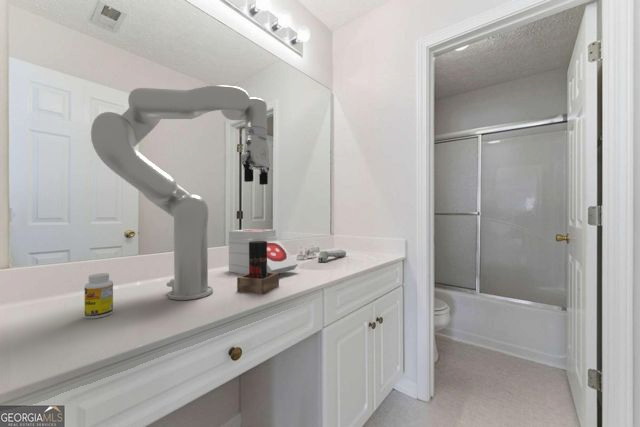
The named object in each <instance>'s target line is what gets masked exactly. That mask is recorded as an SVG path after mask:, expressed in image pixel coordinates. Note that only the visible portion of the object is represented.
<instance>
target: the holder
mask: <svg viewBox="0 0 640 427" xmlns="http://www.w3.org/2000/svg"><path fill="white" fill-rule="evenodd" d="M279 275H280V273H270V272H267V277H266V278H264V279H259V278H249V273H248V274H246V275H244V274H242V275H241V276H237V277H236V281H237V282H236V283H237V284H236V287H237V288H236V289H237V290H236V292H240V293H249V294H250V293H251V294H259V293H262V295H265V294H267V293H269V292H271V291H273V290H275V288H278V287H280V276H279ZM270 290H271V291H270Z"/></svg>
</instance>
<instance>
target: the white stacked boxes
mask: <svg viewBox="0 0 640 427" xmlns="http://www.w3.org/2000/svg"><path fill="white" fill-rule="evenodd" d="M276 232H277V230H276V229H262V228H261V229H257V228H255V229H251V228H248V229H247V228H246V229H238V230H229V231H228V272H230V273H235V274H239V275H246V274H248V273H249V242H252V241H267V272H270V273H279V274H281V273H285V272H289V271H293V270H295V269H296V268H297V266H298V265H299V264H298V263H297V261H296V260H295V258H294V257H292V255H291V254H290V253H289V251H288V250H287V249H286V247H285V246H284V245H283V244H282V242H281V241H280V240H277V236H276V235H277V234H276Z"/></svg>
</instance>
